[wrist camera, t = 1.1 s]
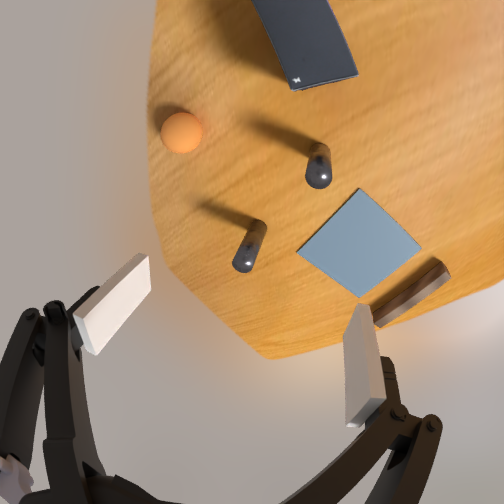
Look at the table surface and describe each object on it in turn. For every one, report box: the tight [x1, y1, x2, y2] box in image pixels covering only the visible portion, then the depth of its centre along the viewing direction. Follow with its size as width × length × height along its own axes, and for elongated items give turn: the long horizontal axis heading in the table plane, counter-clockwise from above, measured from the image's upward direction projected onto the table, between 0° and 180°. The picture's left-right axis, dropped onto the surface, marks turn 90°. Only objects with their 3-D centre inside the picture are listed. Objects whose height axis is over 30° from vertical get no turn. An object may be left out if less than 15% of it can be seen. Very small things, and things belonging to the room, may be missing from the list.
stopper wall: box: [373, 262, 451, 328], centre depth 39 cm, size 16×2×2 cm, turn 148°
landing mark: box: [297, 189, 422, 298], centre depth 38 cm, size 14×14×1 cm
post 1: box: [232, 220, 267, 273], centre depth 37 cm, size 3×3×9 cm
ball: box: [161, 113, 203, 153], centre depth 32 cm, size 6×6×6 cm
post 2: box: [305, 143, 332, 189], centre depth 28 cm, size 3×3×9 cm
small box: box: [251, 0, 359, 91], centre depth 20 cm, size 11×6×10 cm, turn 21°
